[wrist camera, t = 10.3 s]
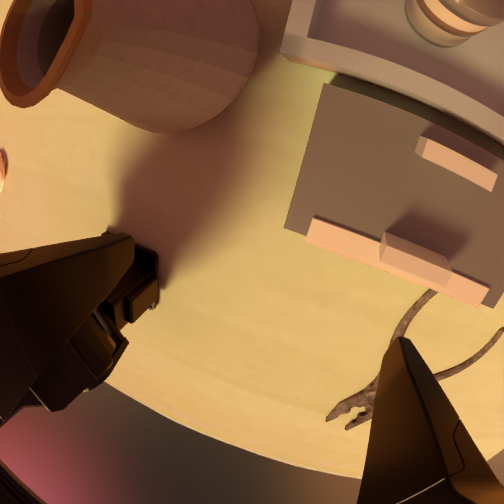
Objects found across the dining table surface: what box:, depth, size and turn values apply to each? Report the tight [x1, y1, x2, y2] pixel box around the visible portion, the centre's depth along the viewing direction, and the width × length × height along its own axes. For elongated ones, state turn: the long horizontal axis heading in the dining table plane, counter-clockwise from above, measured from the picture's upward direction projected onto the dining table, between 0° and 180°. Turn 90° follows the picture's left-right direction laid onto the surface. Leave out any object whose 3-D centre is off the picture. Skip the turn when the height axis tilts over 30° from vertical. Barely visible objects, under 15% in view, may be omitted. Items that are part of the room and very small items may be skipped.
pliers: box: [326, 289, 504, 430], centre depth 23 cm, size 10×1×20 cm
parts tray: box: [279, 0, 504, 147], centre depth 10 cm, size 16×12×3 cm
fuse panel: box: [284, 83, 504, 308], centre depth 15 cm, size 16×9×4 cm, turn 78°
